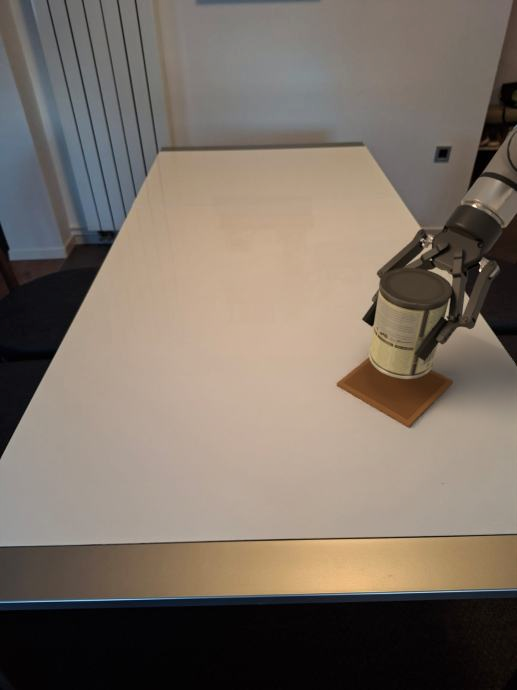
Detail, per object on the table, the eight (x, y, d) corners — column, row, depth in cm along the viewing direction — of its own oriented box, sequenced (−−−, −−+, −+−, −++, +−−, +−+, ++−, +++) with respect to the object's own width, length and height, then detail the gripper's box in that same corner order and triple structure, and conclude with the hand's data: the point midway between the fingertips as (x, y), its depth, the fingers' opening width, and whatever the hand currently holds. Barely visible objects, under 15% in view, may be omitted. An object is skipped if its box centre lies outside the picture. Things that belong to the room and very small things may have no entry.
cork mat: (452, 383, 84) (453, 380, 84) (408, 427, 77) (409, 425, 76) (382, 348, 92) (383, 345, 92) (336, 385, 84) (336, 382, 84)
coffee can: (376, 333, 86) (388, 261, 78) (437, 348, 83) (457, 275, 74) (360, 369, 79) (371, 294, 70) (426, 387, 75) (446, 310, 67)
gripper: (558, 256, 69) (460, 385, 72) (428, 205, 84) (351, 314, 86) (550, 232, 63) (445, 372, 66) (412, 181, 78) (330, 298, 81)
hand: (392, 339), depth 76 cm, fingers closed on coffee can, 10 cm apart
